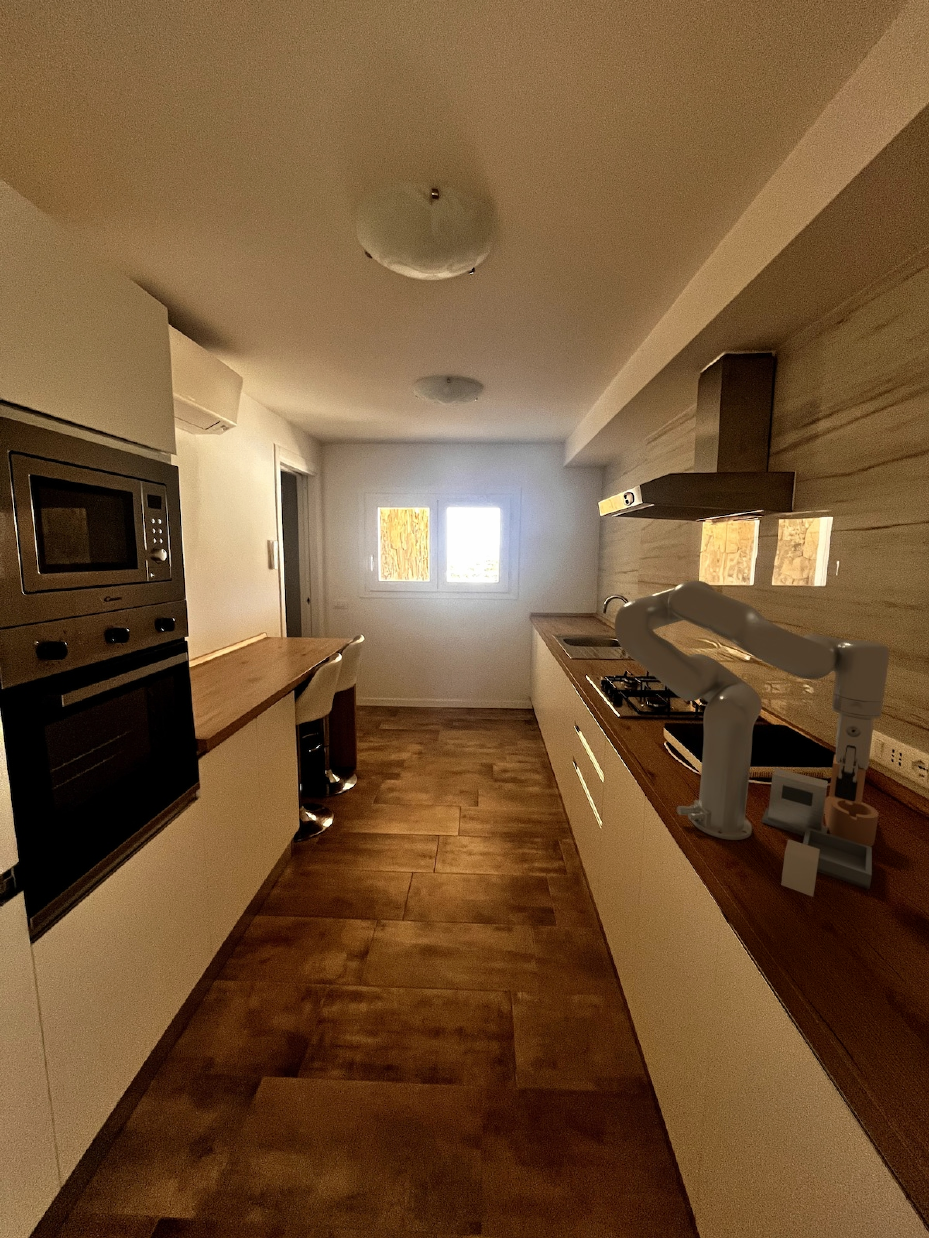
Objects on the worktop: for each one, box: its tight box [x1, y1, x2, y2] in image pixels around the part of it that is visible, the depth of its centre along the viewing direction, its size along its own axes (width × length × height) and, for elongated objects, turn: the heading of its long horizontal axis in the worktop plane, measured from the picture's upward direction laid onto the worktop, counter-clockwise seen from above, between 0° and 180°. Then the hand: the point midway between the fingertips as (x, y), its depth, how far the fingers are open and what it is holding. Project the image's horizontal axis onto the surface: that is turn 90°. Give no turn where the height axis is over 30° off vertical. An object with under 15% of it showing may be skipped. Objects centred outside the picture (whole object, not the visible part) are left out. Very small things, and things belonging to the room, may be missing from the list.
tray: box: [802, 828, 873, 890], centre depth 100 cm, size 11×11×3 cm
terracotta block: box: [828, 754, 867, 805], centre depth 97 cm, size 5×5×7 cm
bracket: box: [824, 795, 879, 847], centre depth 113 cm, size 18×8×7 cm, turn 148°
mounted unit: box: [761, 767, 829, 837], centre depth 111 cm, size 12×6×12 cm, turn 51°
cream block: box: [781, 839, 820, 897], centre depth 93 cm, size 5×5×7 cm
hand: (845, 791), depth 97 cm, fingers closed on terracotta block, 5 cm apart
